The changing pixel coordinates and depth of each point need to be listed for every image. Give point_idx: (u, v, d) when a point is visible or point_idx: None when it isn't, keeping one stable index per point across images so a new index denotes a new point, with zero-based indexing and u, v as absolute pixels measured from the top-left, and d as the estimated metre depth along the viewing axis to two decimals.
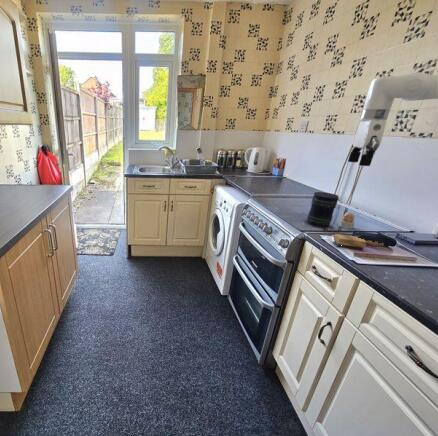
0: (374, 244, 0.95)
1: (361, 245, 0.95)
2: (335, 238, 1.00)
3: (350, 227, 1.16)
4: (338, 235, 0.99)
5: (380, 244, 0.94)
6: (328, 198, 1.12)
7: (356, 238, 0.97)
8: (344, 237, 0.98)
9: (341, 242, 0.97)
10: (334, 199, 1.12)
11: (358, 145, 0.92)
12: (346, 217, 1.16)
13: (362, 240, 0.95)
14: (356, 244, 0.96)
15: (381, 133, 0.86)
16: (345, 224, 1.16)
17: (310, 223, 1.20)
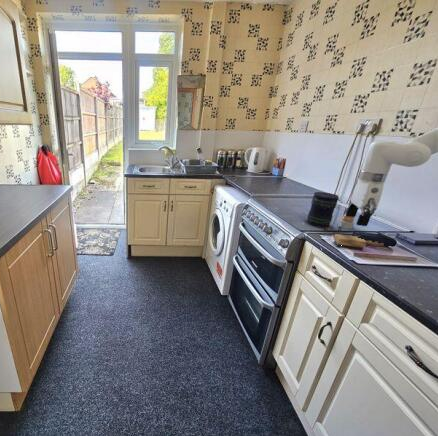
0: (374, 244, 0.95)
1: (361, 245, 0.95)
2: (335, 238, 1.00)
3: (350, 227, 1.16)
4: (338, 235, 0.99)
5: (380, 244, 0.94)
6: (328, 198, 1.12)
7: (356, 238, 0.97)
8: (344, 237, 0.98)
9: (341, 242, 0.97)
10: (334, 199, 1.12)
11: (356, 204, 0.92)
12: (346, 217, 1.16)
13: (362, 240, 0.95)
14: (356, 244, 0.96)
15: (379, 196, 0.86)
16: (345, 224, 1.16)
17: (310, 223, 1.20)
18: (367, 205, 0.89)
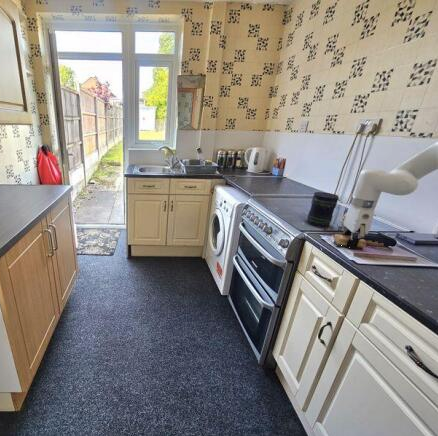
0: (374, 244, 0.95)
1: (361, 245, 0.95)
2: (335, 238, 1.00)
3: None
4: (338, 235, 0.99)
5: (380, 244, 0.94)
6: (328, 198, 1.12)
7: None
8: (344, 237, 0.98)
9: (341, 242, 0.97)
10: (334, 199, 1.12)
11: (348, 227, 0.96)
12: None
13: (362, 240, 0.95)
14: None
15: (370, 222, 0.89)
16: None
17: (310, 223, 1.20)
18: None
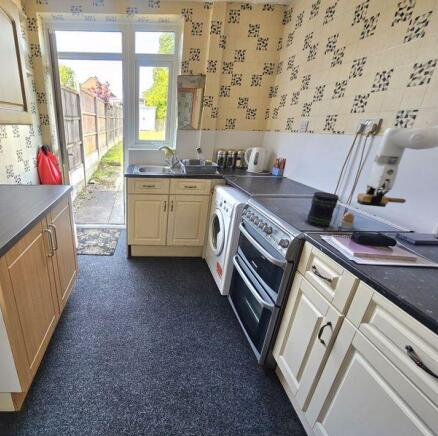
0: (396, 200, 1.01)
1: (384, 201, 1.01)
2: (359, 197, 1.06)
3: (350, 227, 1.16)
4: (362, 194, 1.05)
5: (402, 200, 1.00)
6: (328, 198, 1.12)
7: None
8: (368, 195, 1.04)
9: (365, 199, 1.03)
10: (334, 199, 1.12)
11: (372, 185, 1.02)
12: (346, 217, 1.16)
13: (385, 197, 1.01)
14: None
15: (394, 177, 0.95)
16: (345, 224, 1.16)
17: (310, 223, 1.20)
18: None
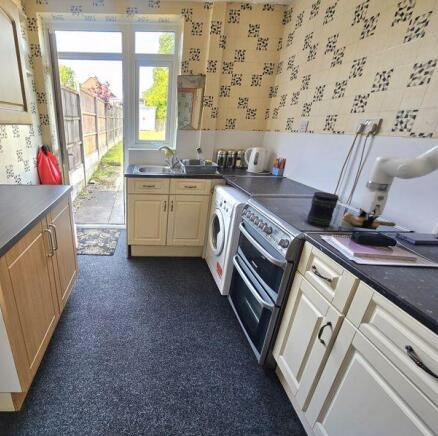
0: (387, 224, 1.06)
1: (375, 225, 1.06)
2: (351, 219, 1.11)
3: (350, 227, 1.16)
4: (354, 216, 1.10)
5: (392, 224, 1.05)
6: (328, 198, 1.12)
7: None
8: (360, 218, 1.08)
9: (357, 222, 1.08)
10: (334, 199, 1.12)
11: (364, 209, 1.07)
12: (346, 217, 1.16)
13: (376, 220, 1.06)
14: None
15: (384, 203, 1.00)
16: (345, 224, 1.16)
17: (310, 223, 1.20)
18: None
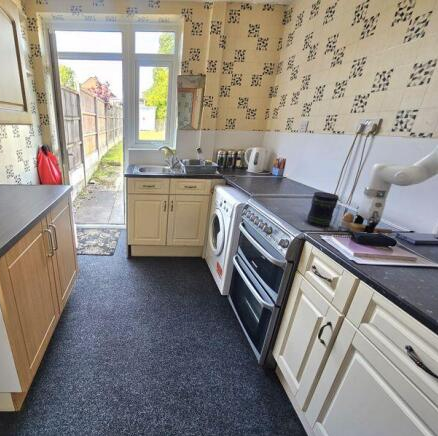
0: (384, 231, 1.07)
1: None
2: (349, 226, 1.12)
3: None
4: (351, 224, 1.11)
5: (389, 231, 1.07)
6: (328, 198, 1.12)
7: None
8: (357, 225, 1.10)
9: (354, 229, 1.09)
10: (334, 199, 1.12)
11: (362, 215, 1.08)
12: (346, 217, 1.16)
13: None
14: None
15: (382, 210, 1.01)
16: (345, 224, 1.16)
17: (310, 223, 1.20)
18: (372, 217, 1.05)
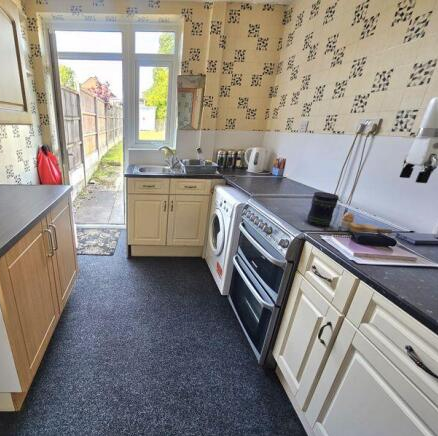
0: (384, 231, 1.07)
1: (372, 232, 1.07)
2: (349, 226, 1.12)
3: None
4: (351, 224, 1.11)
5: (389, 231, 1.07)
6: (328, 198, 1.12)
7: (368, 226, 1.09)
8: (357, 225, 1.10)
9: (354, 229, 1.09)
10: (334, 199, 1.12)
11: (414, 162, 0.93)
12: (346, 217, 1.16)
13: (373, 228, 1.08)
14: (368, 231, 1.08)
15: None
16: (345, 224, 1.16)
17: (310, 223, 1.20)
18: (427, 162, 0.90)
